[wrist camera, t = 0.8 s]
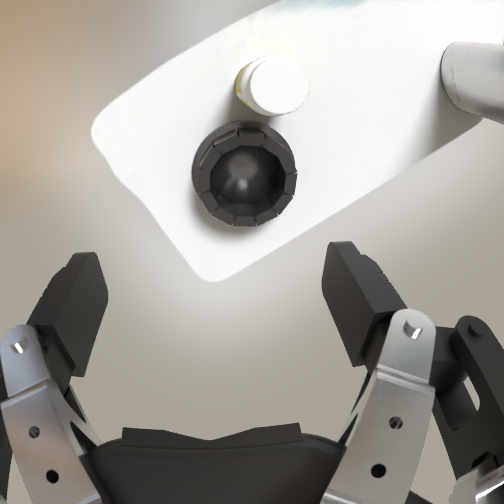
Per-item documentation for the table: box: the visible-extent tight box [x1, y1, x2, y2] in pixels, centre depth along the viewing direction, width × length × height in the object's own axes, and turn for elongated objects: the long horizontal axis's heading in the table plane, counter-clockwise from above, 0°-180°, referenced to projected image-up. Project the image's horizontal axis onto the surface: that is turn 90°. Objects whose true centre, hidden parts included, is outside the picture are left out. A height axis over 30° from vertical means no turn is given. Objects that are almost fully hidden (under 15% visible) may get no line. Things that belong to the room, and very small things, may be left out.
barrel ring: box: [192, 121, 297, 226], centre depth 27 cm, size 10×10×3 cm
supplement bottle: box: [235, 56, 309, 116], centre depth 21 cm, size 5×5×8 cm
